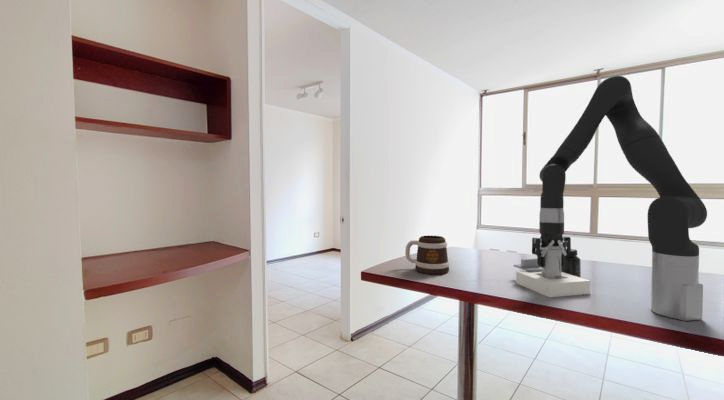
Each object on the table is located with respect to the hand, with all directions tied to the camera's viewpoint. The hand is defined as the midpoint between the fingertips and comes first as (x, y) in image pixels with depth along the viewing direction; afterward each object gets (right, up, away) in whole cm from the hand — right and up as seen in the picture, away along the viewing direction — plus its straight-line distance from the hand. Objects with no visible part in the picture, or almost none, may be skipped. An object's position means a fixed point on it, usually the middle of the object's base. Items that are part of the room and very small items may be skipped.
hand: (551, 266), depth 110 cm
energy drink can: (0, -8, 0) cm, 8 cm away
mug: (-39, -8, +27) cm, 48 cm away
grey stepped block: (-2, -3, +10) cm, 11 cm away
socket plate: (0, -8, 0) cm, 8 cm away
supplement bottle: (+13, -8, +10) cm, 18 cm away
